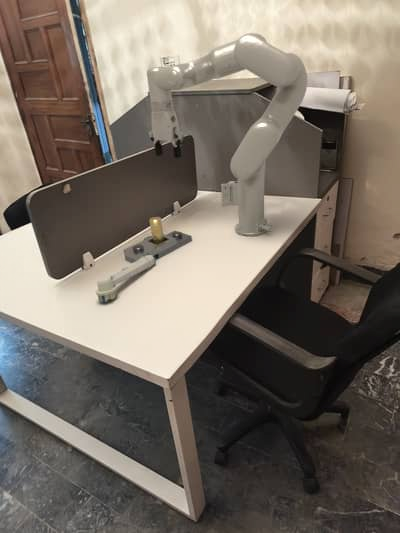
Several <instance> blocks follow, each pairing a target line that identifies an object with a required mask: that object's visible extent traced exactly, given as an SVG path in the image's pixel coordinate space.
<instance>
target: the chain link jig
mask: <svg viewBox="0 0 400 533" xmlns="http://www.w3.org/2000/svg"><path fill="white" fill-rule="evenodd" d="M163 235H164V242H163V243H161V244H159V245H156V244H154V243H153V239H152V235H151V236H150V237H147V238H146V239H144V240H141V241H139V242H137V243H134V244H132V245H131V246H128V247H126V248H124V249H123V254H124V260H125V261H127V262H129V263H130V264H132V263H134V262H135V261H137V260H139V259H140V258H141V257H144V256H146V255H153V256H154V257H155V259H161V258H162V257H164V256H166V255H169V254H170V253H172V252H174V251H177V249H179V248H182V247H183V246H185V245H187V244H189V243H191V242H193V237H192V235H189V234H186V233H184V232H181V231H177V230H173V231H171V232H169V233H167V234H165V233H163Z"/></svg>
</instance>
